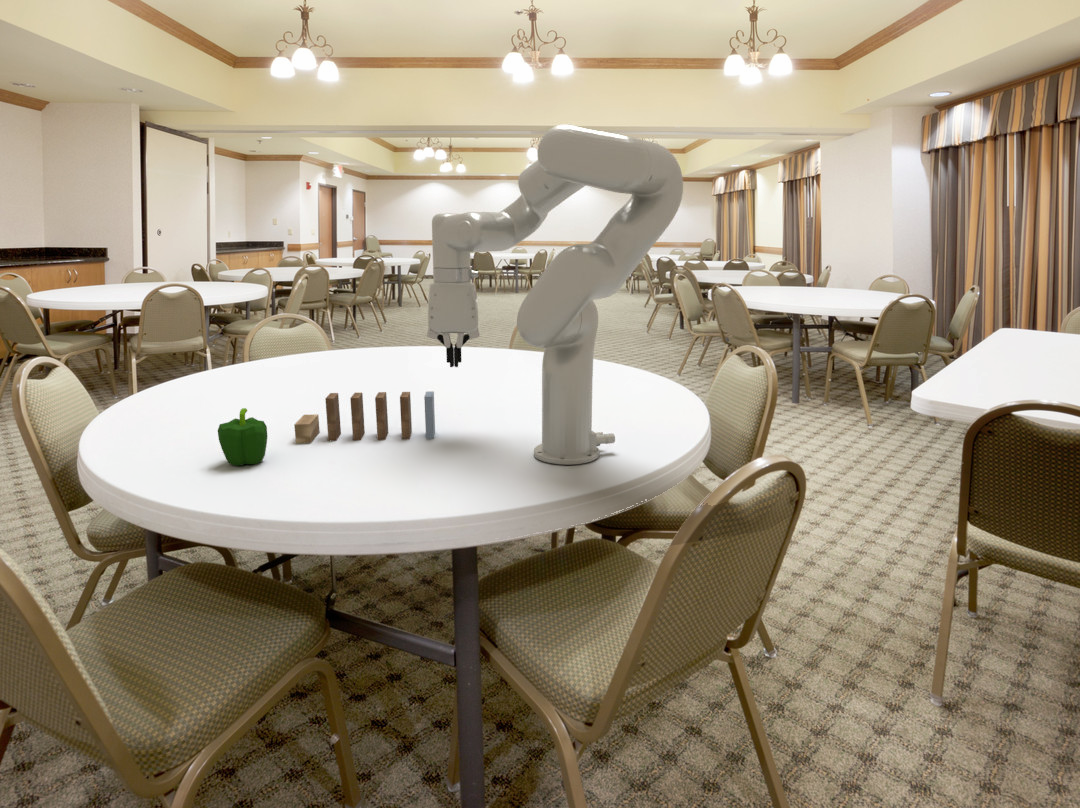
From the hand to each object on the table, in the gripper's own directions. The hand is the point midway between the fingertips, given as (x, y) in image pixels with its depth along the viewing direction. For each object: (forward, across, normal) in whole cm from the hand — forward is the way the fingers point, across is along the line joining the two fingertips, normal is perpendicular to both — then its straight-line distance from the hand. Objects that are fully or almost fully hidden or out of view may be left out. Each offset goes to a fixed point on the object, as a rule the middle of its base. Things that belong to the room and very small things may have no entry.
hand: (454, 365), depth 147 cm
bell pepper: (+15, +38, +16) cm, 44 cm away
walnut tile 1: (+15, +10, 0) cm, 18 cm away
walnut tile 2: (+15, +15, 0) cm, 21 cm away
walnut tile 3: (+15, +20, 0) cm, 25 cm away
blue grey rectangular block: (+15, +5, 0) cm, 16 cm away
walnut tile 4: (+15, +25, 0) cm, 29 cm away
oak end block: (+15, +31, 0) cm, 34 cm away
